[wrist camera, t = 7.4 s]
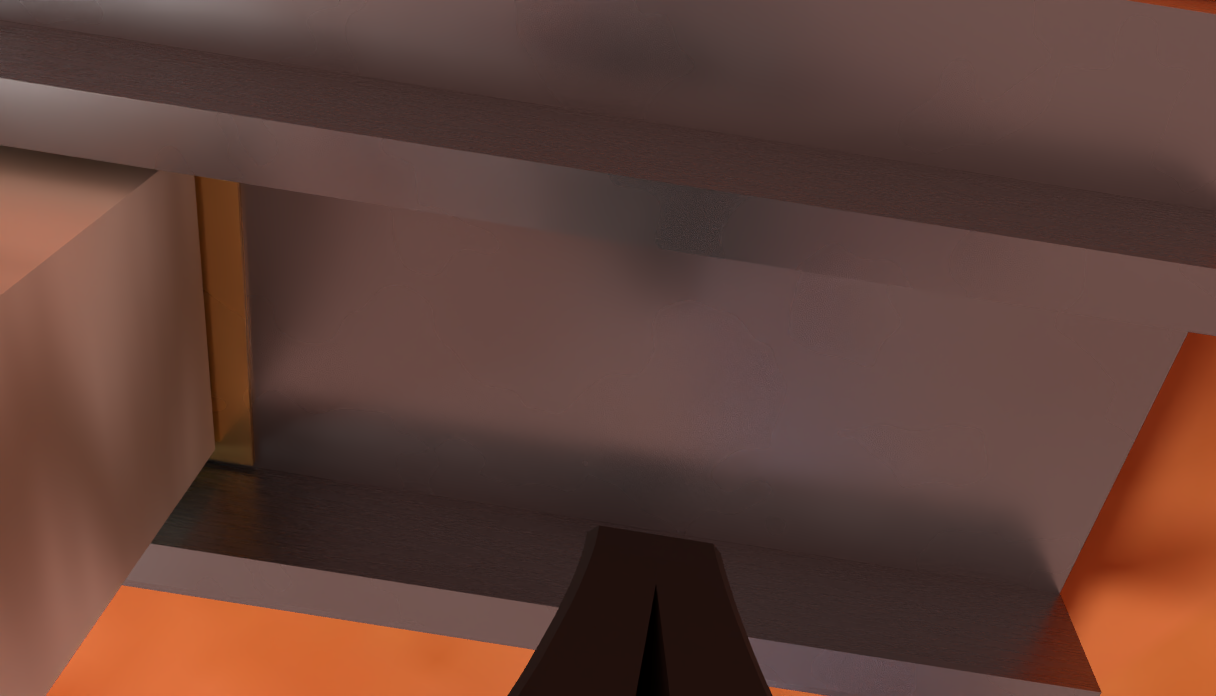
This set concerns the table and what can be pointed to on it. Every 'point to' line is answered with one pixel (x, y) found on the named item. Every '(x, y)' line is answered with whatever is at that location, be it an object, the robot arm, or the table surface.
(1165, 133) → the chute
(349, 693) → the table surface
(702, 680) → the robot arm
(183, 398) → the block
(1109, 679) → the table surface
